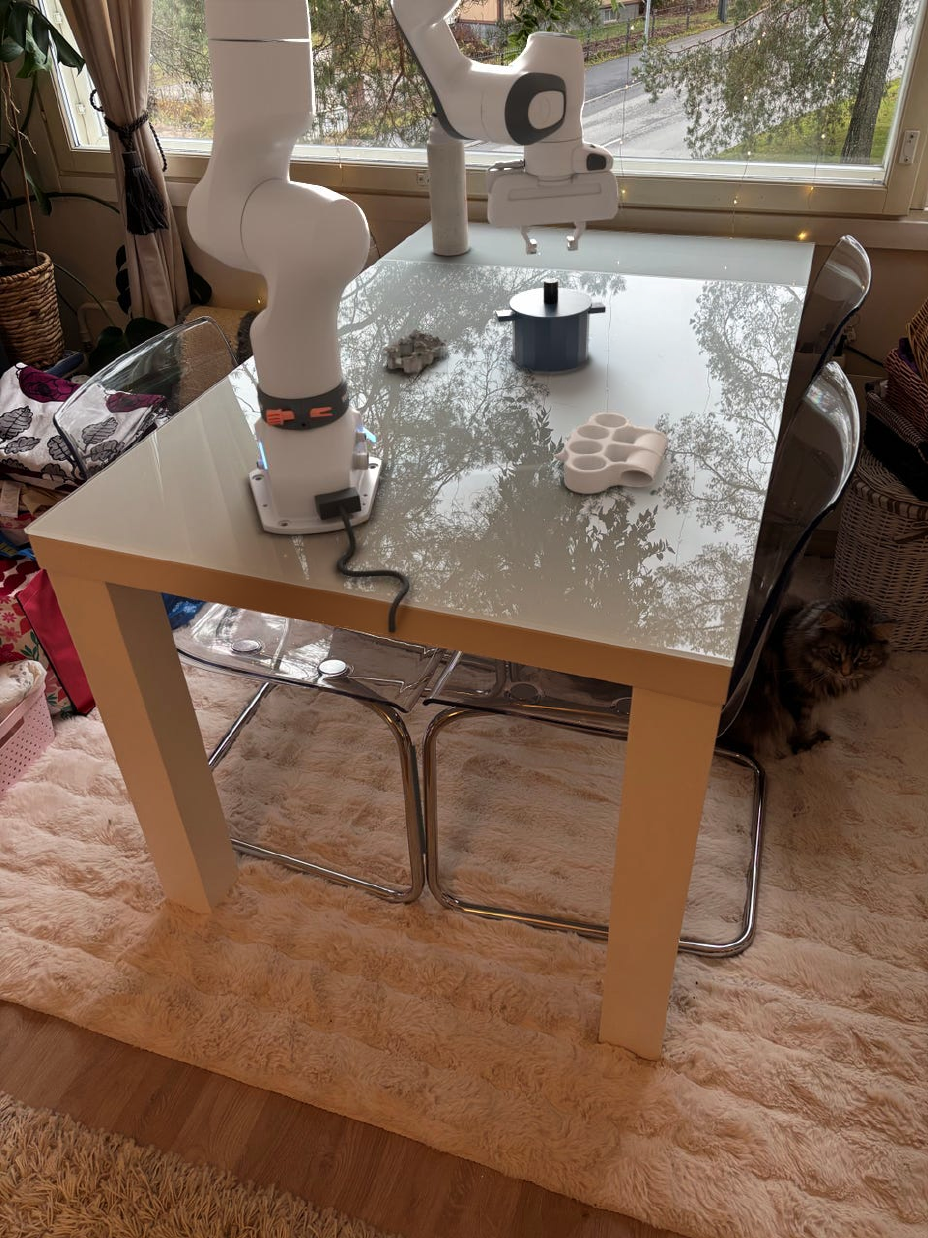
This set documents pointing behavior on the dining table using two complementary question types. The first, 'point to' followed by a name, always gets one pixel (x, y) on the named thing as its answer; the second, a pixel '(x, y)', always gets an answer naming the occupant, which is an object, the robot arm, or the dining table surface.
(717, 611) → the dining table surface
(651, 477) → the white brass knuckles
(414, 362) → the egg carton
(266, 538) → the dining table surface
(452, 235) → the thermos bottle
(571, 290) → the lid
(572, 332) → the pot
